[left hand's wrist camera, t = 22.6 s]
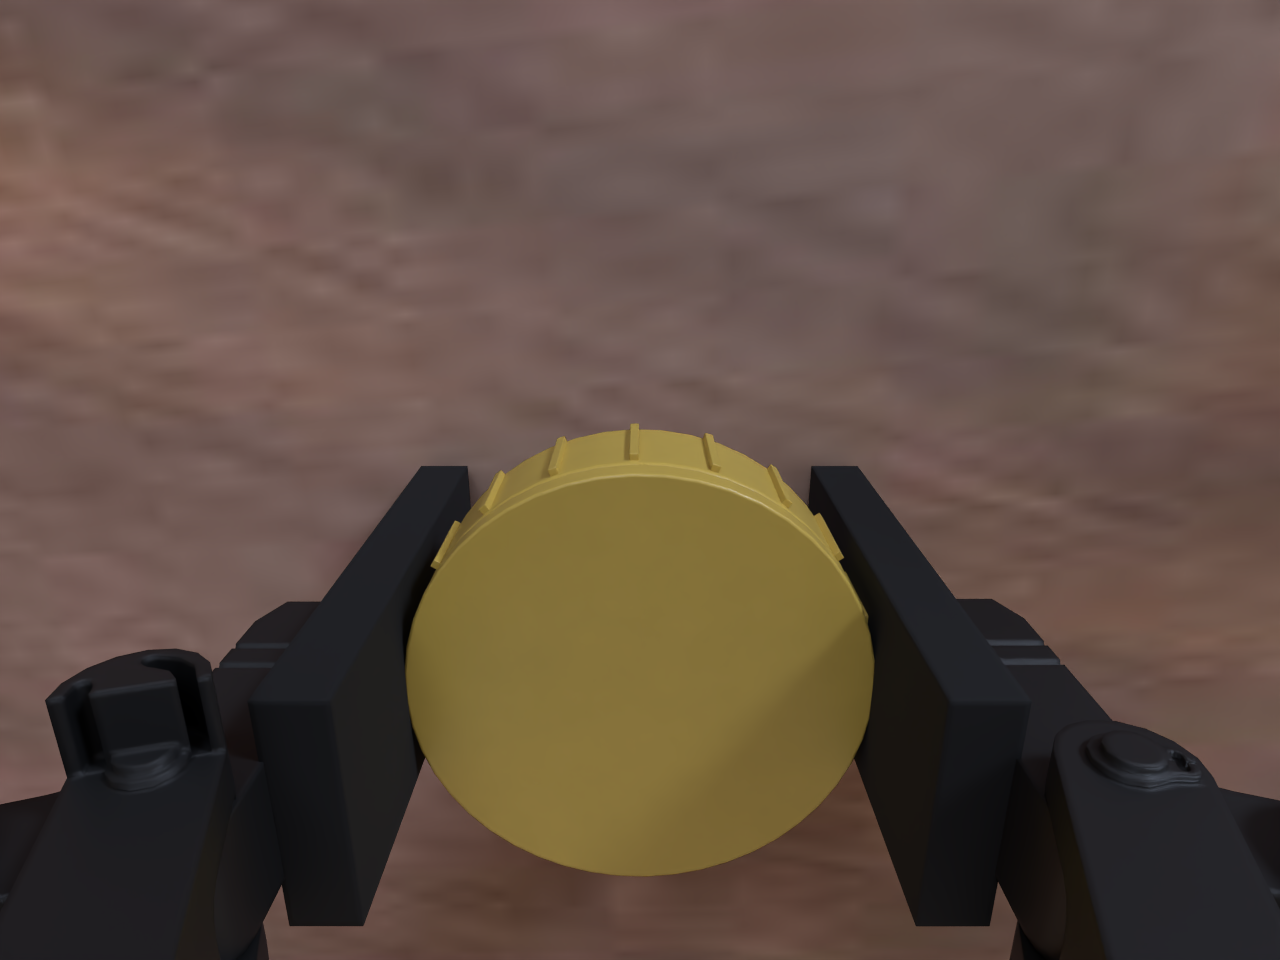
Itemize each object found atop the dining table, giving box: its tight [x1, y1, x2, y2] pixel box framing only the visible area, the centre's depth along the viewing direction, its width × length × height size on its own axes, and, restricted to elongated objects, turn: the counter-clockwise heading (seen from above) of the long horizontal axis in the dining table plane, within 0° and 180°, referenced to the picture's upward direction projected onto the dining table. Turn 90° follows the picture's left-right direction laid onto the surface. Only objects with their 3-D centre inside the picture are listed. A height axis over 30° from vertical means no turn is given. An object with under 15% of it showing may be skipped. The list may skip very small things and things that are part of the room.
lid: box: [405, 424, 875, 877], centre depth 11 cm, size 6×6×2 cm
